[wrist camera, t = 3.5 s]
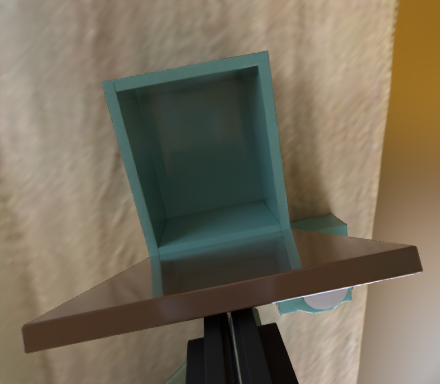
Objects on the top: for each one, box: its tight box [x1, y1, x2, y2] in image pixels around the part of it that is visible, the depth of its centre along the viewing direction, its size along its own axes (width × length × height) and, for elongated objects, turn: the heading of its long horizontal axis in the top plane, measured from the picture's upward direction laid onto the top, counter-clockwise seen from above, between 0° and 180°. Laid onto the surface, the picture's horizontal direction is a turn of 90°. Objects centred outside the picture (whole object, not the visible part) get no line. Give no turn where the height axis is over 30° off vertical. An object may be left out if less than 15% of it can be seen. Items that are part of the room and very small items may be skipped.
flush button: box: [303, 288, 348, 309], centre depth 27 cm, size 4×4×2 cm
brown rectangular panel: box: [22, 229, 423, 353], centre depth 15 cm, size 14×12×1 cm
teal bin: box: [102, 51, 291, 257], centre depth 25 cm, size 14×12×8 cm
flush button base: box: [276, 214, 353, 315], centre depth 30 cm, size 9×8×5 cm
